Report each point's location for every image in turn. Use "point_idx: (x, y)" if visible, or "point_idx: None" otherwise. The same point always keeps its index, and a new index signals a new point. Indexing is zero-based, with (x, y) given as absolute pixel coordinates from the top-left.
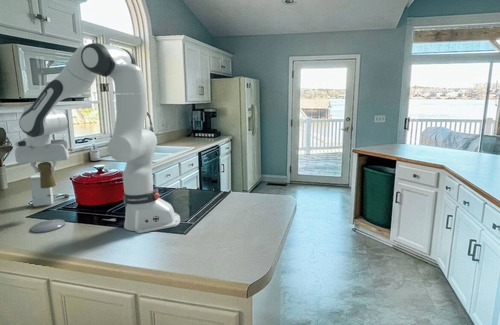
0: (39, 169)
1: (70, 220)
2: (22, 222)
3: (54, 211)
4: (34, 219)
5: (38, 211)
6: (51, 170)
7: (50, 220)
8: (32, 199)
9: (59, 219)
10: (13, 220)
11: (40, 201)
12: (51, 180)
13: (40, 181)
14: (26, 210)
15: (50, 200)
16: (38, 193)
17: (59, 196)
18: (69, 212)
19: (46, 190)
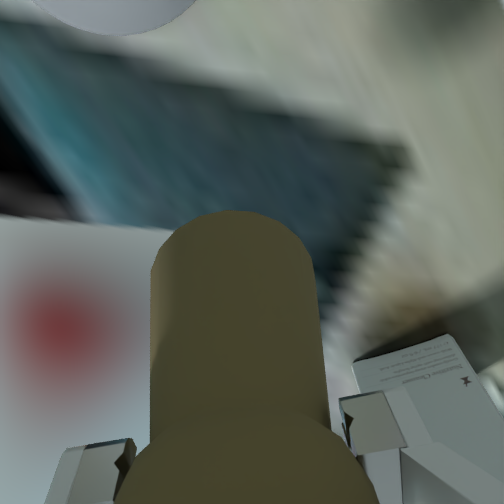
0: (308, 418)
1: (13, 41)
2: (384, 38)
3: None
4: (323, 96)
5: (376, 253)
6: (113, 447)
7: (151, 14)
8: (471, 367)
9: (88, 31)
10: (472, 91)
11: (418, 365)
12: (154, 310)
13: (301, 284)
14: (467, 277)
15: (360, 381)
16: (446, 407)
17: None
18: (138, 216)
19: None
